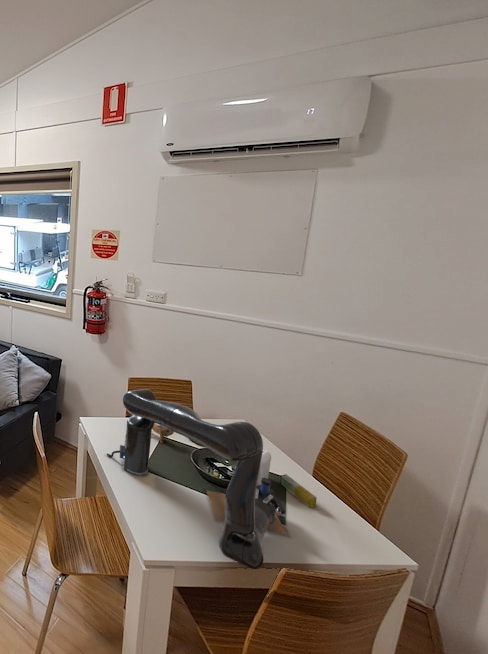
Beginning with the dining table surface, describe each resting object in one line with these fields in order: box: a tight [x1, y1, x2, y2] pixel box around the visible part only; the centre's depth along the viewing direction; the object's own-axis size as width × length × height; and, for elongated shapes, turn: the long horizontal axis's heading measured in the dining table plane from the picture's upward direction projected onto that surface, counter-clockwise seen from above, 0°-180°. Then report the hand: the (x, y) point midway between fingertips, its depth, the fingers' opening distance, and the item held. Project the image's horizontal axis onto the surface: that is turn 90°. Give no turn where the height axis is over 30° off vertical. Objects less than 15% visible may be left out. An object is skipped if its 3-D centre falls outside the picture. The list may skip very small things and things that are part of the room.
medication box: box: [280, 474, 318, 509], centre depth 135 cm, size 12×3×4 cm, turn 6°
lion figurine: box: [152, 423, 175, 444], centre depth 169 cm, size 15×5×9 cm, turn 44°
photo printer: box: [256, 449, 272, 486], centre depth 141 cm, size 10×4×12 cm, turn 123°
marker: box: [259, 478, 272, 499], centre depth 126 cm, size 3×3×12 cm
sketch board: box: [205, 489, 289, 536], centre depth 129 cm, size 20×16×1 cm
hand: (266, 489), depth 128 cm, fingers closed on marker, 2 cm apart
